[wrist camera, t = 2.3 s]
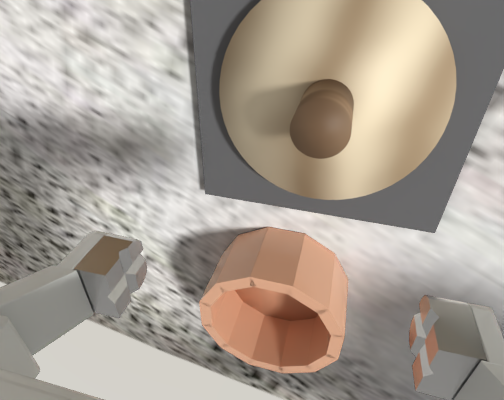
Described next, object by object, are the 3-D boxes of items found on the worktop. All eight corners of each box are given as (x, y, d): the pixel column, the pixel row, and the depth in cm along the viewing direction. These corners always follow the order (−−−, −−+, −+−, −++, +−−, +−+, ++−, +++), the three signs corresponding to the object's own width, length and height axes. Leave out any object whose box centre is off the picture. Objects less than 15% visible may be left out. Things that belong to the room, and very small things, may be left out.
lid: (495, -29, 17) (534, -23, 13) (414, 206, 25) (422, 254, 21) (219, -34, 20) (182, -32, 16) (227, 177, 28) (204, 214, 24)
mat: (558, -80, 16) (566, -81, 15) (433, 226, 26) (434, 233, 26) (189, -79, 20) (183, -80, 19) (208, 188, 30) (205, 193, 29)
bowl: (357, 243, 29) (355, 299, 24) (335, 329, 36) (330, 386, 31) (221, 218, 32) (194, 264, 27) (225, 303, 39) (205, 352, 34)
